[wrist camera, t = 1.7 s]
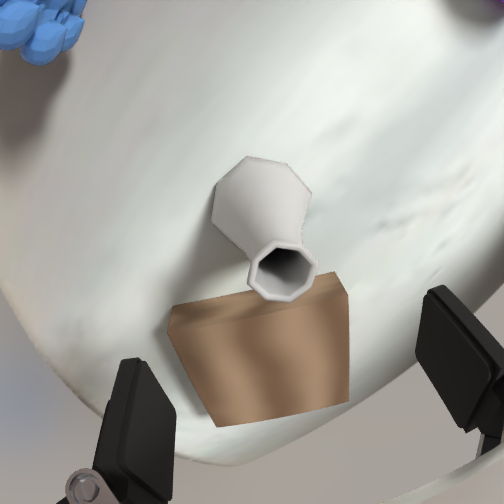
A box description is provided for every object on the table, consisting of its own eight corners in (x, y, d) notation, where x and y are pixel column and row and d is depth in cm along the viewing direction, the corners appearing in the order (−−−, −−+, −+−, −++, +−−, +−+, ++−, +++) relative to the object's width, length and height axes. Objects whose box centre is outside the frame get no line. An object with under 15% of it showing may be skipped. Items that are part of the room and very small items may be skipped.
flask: (277, 264, 26) (303, 351, 17) (194, 224, 24) (177, 303, 15) (327, 187, 23) (386, 243, 14) (241, 138, 21) (253, 165, 12)
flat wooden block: (333, 268, 27) (348, 295, 23) (338, 374, 33) (348, 401, 30) (173, 302, 27) (167, 332, 24) (216, 399, 33) (216, 427, 30)
